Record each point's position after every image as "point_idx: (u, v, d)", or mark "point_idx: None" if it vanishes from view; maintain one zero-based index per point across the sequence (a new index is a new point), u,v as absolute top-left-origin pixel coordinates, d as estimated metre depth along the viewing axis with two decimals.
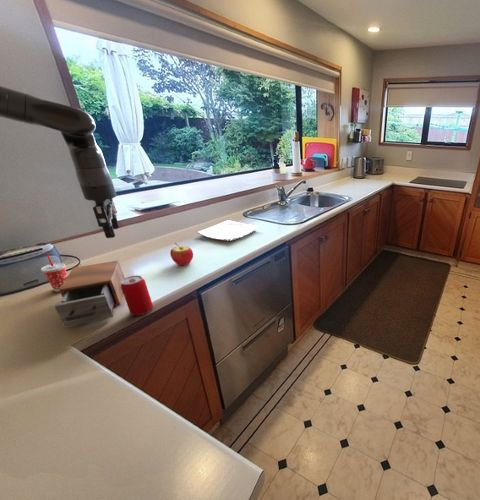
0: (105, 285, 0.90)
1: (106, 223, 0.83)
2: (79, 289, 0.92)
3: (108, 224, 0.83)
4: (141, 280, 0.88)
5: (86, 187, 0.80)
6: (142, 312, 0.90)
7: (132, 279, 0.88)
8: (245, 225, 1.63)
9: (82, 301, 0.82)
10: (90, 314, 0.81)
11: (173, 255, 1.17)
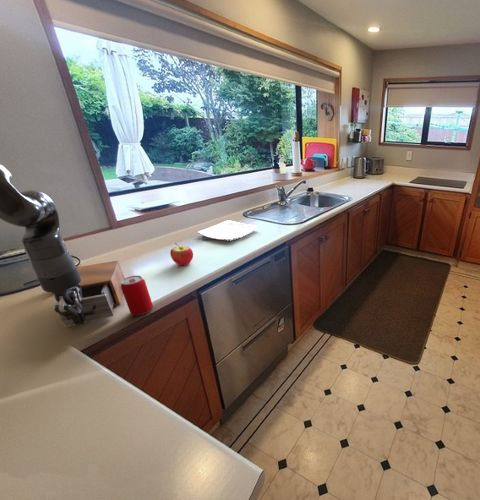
0: (105, 284, 0.90)
1: (74, 314, 0.75)
2: None
3: (75, 313, 0.76)
4: (141, 280, 0.88)
5: (42, 279, 0.69)
6: (142, 312, 0.90)
7: (132, 279, 0.88)
8: (245, 225, 1.63)
9: None
10: (90, 313, 0.81)
11: (173, 255, 1.17)
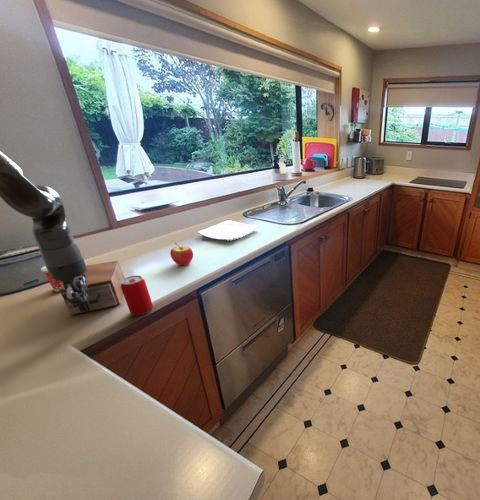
0: None
1: (80, 301, 0.80)
2: None
3: (82, 301, 0.81)
4: (141, 280, 0.88)
5: (52, 268, 0.74)
6: (142, 312, 0.90)
7: (132, 279, 0.88)
8: (245, 225, 1.63)
9: (88, 289, 0.88)
10: (95, 301, 0.86)
11: (173, 255, 1.17)
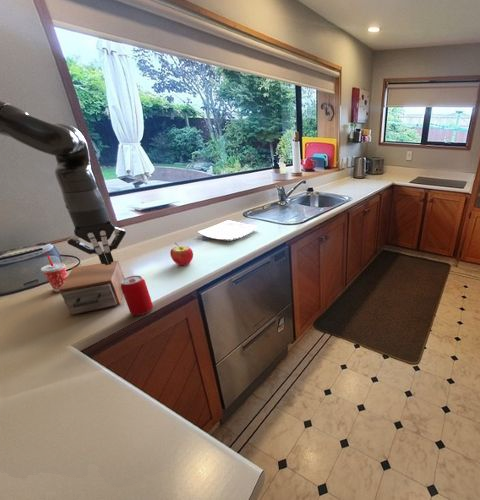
0: None
1: None
2: None
3: (88, 252, 0.77)
4: (141, 280, 0.88)
5: None
6: (142, 312, 0.90)
7: (132, 279, 0.88)
8: (245, 225, 1.63)
9: (88, 289, 0.88)
10: (95, 301, 0.86)
11: (173, 255, 1.17)
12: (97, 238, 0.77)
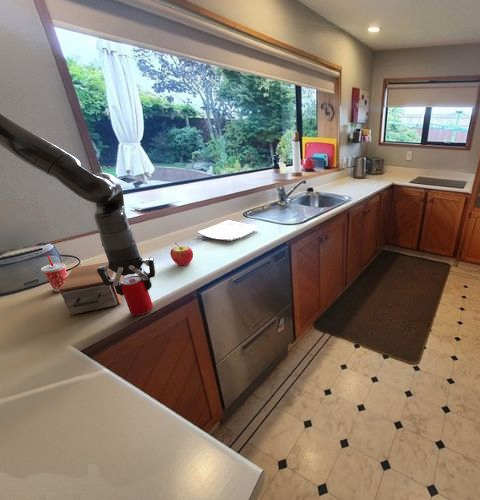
0: None
1: None
2: None
3: (105, 284, 0.84)
4: (141, 280, 0.88)
5: None
6: (142, 312, 0.90)
7: (132, 279, 0.88)
8: (245, 225, 1.63)
9: (88, 289, 0.88)
10: (95, 301, 0.86)
11: (173, 255, 1.17)
12: (123, 273, 0.85)
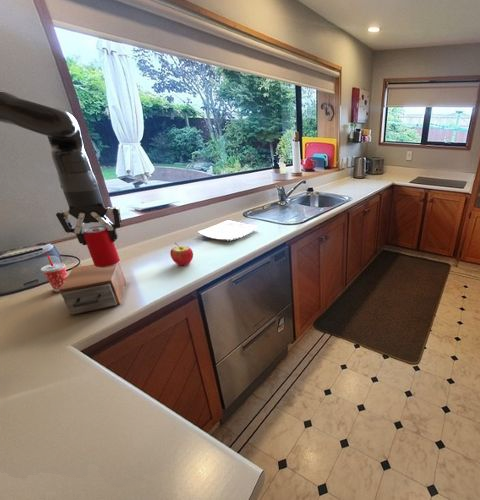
0: None
1: None
2: None
3: (65, 230, 0.80)
4: (105, 230, 0.84)
5: None
6: (106, 264, 0.86)
7: (96, 229, 0.84)
8: (245, 225, 1.63)
9: (88, 289, 0.88)
10: (95, 301, 0.86)
11: (173, 255, 1.17)
12: (85, 220, 0.81)
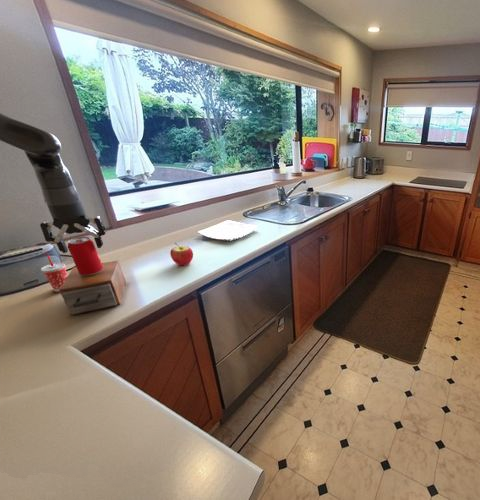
0: None
1: None
2: None
3: (46, 240, 0.85)
4: (88, 241, 0.90)
5: None
6: (90, 272, 0.92)
7: (79, 239, 0.90)
8: (245, 225, 1.63)
9: (88, 289, 0.88)
10: (95, 301, 0.86)
11: (173, 255, 1.17)
12: (67, 231, 0.87)
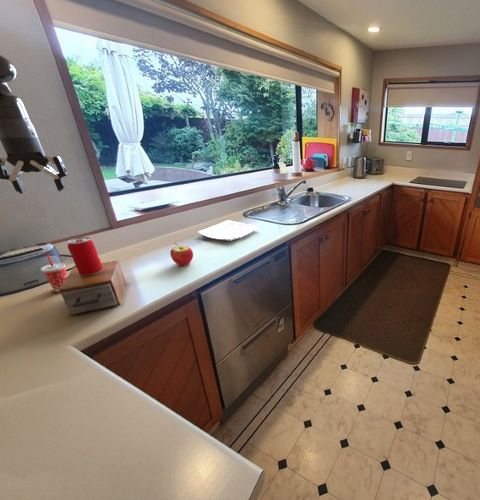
0: None
1: None
2: None
3: (0, 177, 0.80)
4: (88, 241, 0.90)
5: None
6: (90, 272, 0.92)
7: (79, 239, 0.90)
8: (245, 225, 1.63)
9: (88, 289, 0.88)
10: (95, 301, 0.86)
11: (173, 255, 1.17)
12: (23, 169, 0.82)
